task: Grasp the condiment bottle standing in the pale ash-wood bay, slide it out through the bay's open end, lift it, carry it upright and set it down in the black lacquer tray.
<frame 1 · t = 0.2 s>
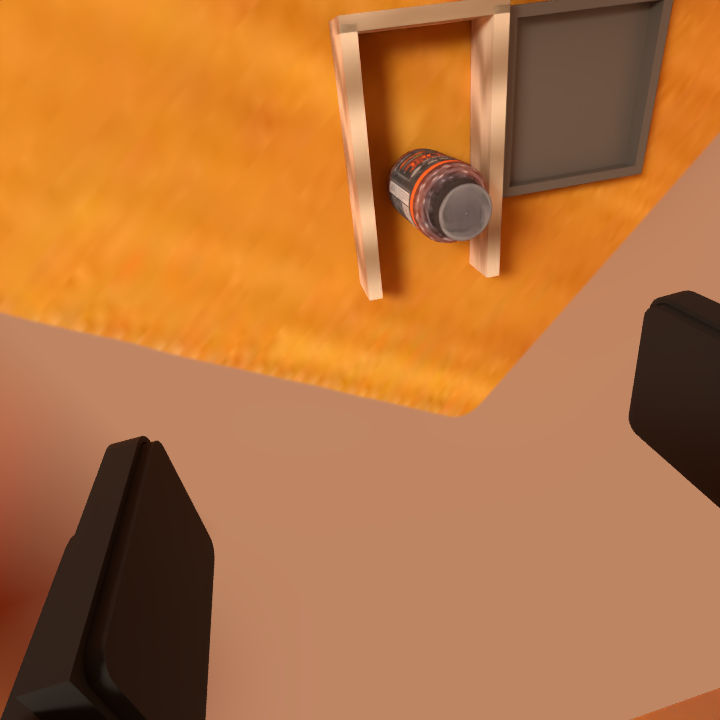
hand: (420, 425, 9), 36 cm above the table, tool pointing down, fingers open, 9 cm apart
bay: (416, 159, 42), on the table
supplement bottle: (416, 182, 43), resting in bay
tray: (567, 98, 42), on the table
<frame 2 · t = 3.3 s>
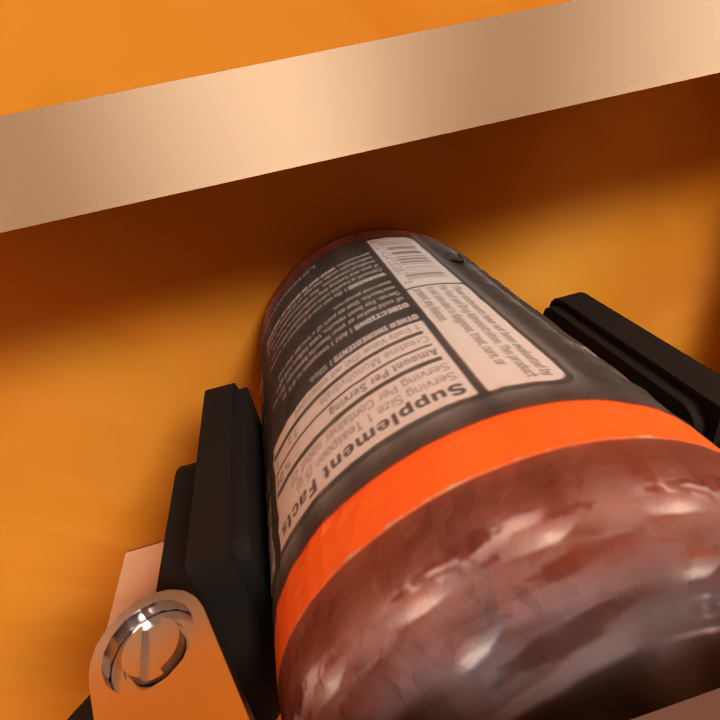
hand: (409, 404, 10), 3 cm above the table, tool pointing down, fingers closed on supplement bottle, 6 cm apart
bay: (447, 317, 13), on the table
supplement bottle: (372, 332, 13), resting in bay, touching gripper
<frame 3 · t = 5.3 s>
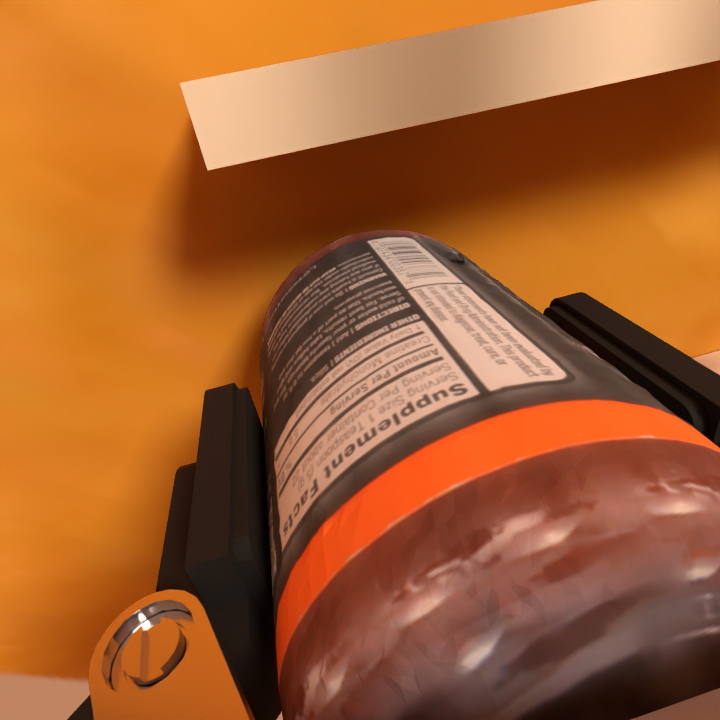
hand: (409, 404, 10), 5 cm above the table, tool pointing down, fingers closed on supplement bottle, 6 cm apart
bay: (616, 248, 15), on the table
supplement bottle: (372, 332, 13), point 1 cm above the table, touching gripper
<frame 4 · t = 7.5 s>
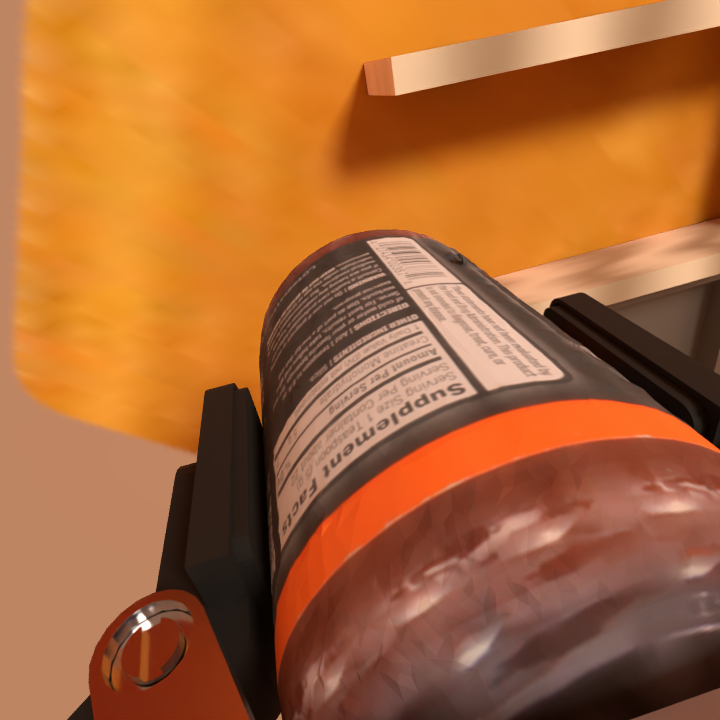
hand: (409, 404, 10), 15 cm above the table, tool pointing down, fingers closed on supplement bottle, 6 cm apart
bay: (580, 163, 25), on the table
supplement bottle: (372, 332, 13), point 12 cm above the table, touching gripper
tray: (607, 373, 32), on the table
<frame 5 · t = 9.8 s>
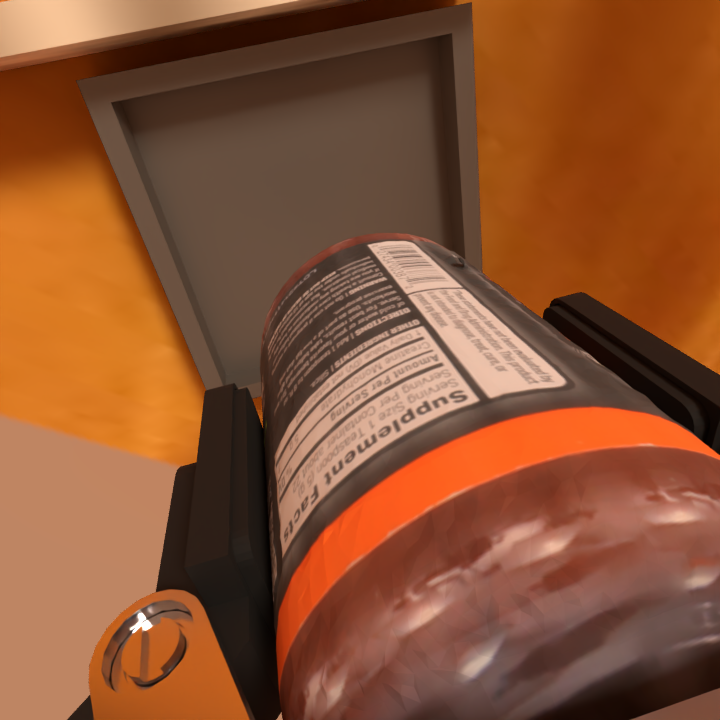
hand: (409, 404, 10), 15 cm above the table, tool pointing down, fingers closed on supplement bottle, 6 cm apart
supplement bottle: (373, 335, 13), point 11 cm above the table, touching gripper
tray: (317, 223, 22), on the table
when the fingers open (4 cm above the table, at t = 11.9 s): supplement bottle stays where it is, resting on tray.
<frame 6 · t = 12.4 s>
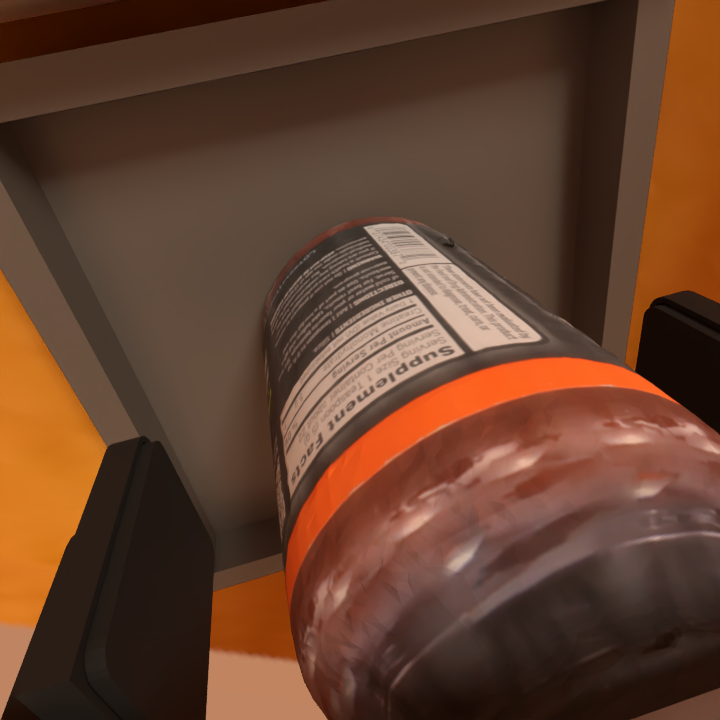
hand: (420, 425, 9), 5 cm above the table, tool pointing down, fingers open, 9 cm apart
supplement bottle: (368, 316, 13), resting on tray
tray: (361, 313, 14), on the table
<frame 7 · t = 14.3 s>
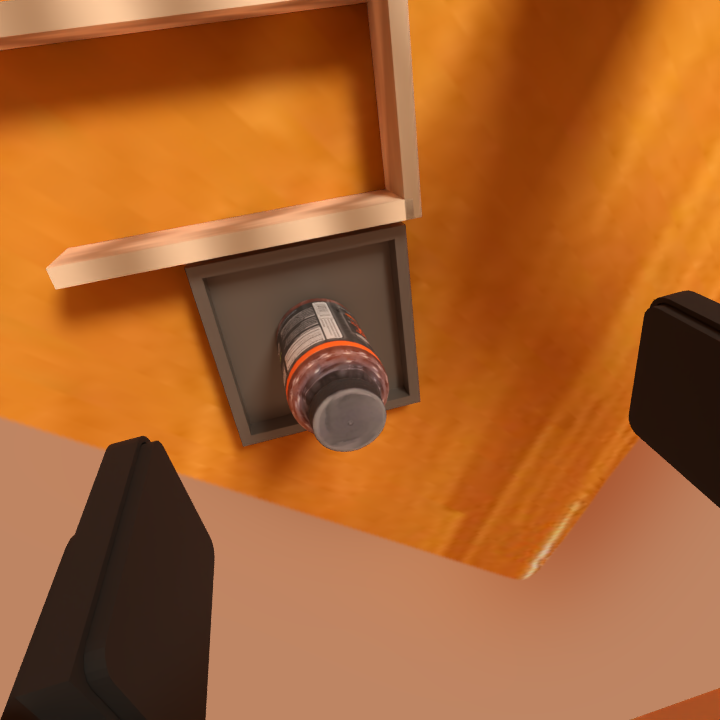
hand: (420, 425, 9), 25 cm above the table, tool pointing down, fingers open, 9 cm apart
bay: (219, 128, 28), on the table
supplement bottle: (316, 332, 35), resting on tray
tray: (313, 331, 35), on the table
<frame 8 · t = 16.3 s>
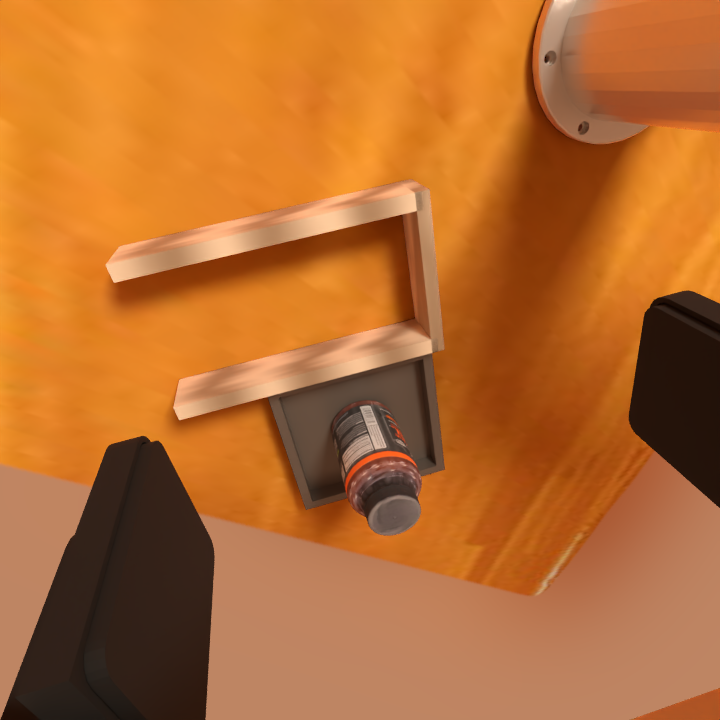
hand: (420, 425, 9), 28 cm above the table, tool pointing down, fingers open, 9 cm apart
bay: (291, 291, 37), on the table
supplement bottle: (361, 422, 44), resting on tray
tray: (359, 420, 45), on the table
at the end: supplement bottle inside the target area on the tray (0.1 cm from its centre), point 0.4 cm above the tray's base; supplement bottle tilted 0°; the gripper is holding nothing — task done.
